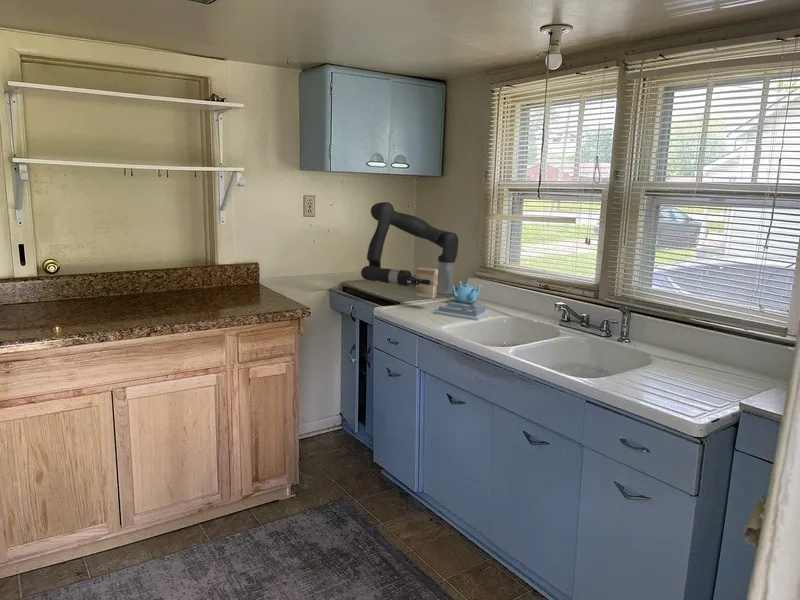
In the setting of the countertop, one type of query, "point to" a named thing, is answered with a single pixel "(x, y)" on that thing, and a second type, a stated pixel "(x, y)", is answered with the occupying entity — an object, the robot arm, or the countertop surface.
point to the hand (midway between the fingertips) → (431, 281)
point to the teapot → (465, 293)
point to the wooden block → (423, 288)
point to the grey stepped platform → (462, 311)
